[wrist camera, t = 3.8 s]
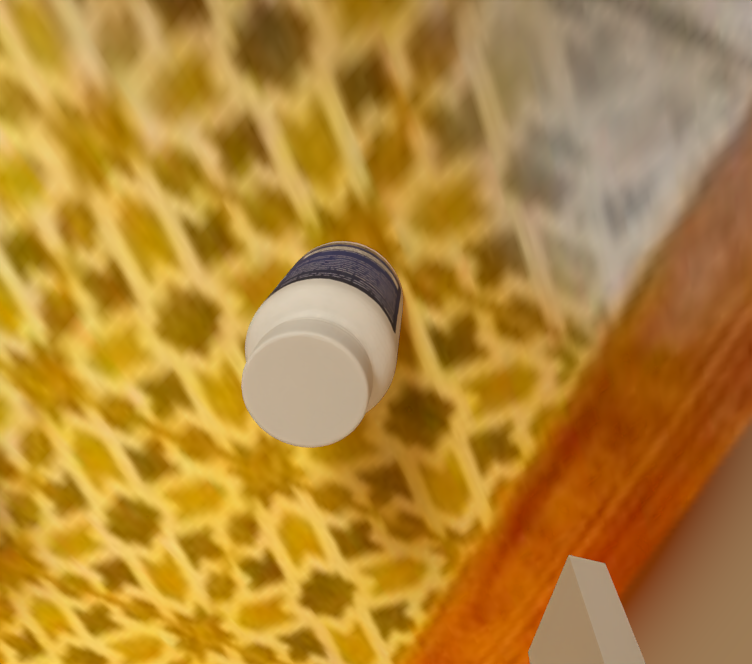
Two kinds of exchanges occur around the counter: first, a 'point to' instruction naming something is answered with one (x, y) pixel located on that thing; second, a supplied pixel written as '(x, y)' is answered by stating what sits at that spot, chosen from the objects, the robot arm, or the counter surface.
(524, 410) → the counter surface
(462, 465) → the counter surface
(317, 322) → the pill bottle
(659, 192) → the counter surface
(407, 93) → the counter surface
